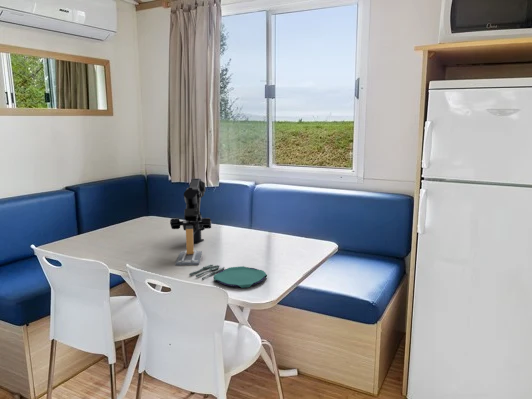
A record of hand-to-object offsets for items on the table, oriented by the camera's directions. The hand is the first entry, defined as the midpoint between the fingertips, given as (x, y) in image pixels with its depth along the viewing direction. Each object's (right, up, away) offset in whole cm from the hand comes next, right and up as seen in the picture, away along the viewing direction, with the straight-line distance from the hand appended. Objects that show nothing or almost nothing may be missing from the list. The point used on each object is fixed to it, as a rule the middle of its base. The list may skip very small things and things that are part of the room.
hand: (190, 239), depth 190 cm
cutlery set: (+21, -13, -25) cm, 35 cm away
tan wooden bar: (0, -7, 0) cm, 7 cm away
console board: (0, -9, -4) cm, 9 cm away
